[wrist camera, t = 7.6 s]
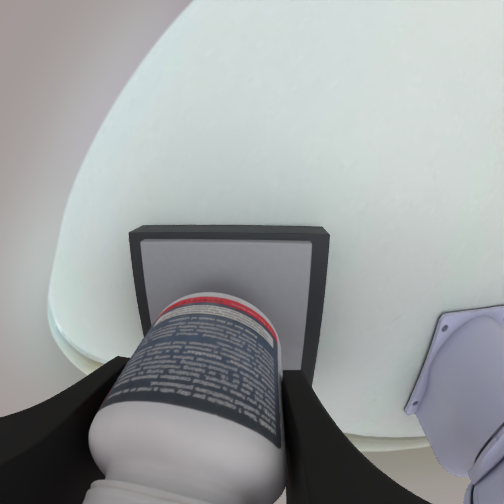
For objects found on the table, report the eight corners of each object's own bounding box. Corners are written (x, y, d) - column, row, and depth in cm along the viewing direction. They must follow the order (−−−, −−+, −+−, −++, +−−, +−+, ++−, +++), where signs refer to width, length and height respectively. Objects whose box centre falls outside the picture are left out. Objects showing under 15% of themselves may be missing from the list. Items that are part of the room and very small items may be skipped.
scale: (307, 374, 17) (312, 402, 15) (162, 367, 18) (150, 392, 15) (322, 226, 14) (333, 238, 12) (142, 225, 15) (120, 236, 12)
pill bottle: (139, 296, 11) (-3, 473, 2) (270, 279, 10) (275, 556, 2) (176, 394, 12) (120, 557, 4) (287, 387, 12) (296, 580, 3)
